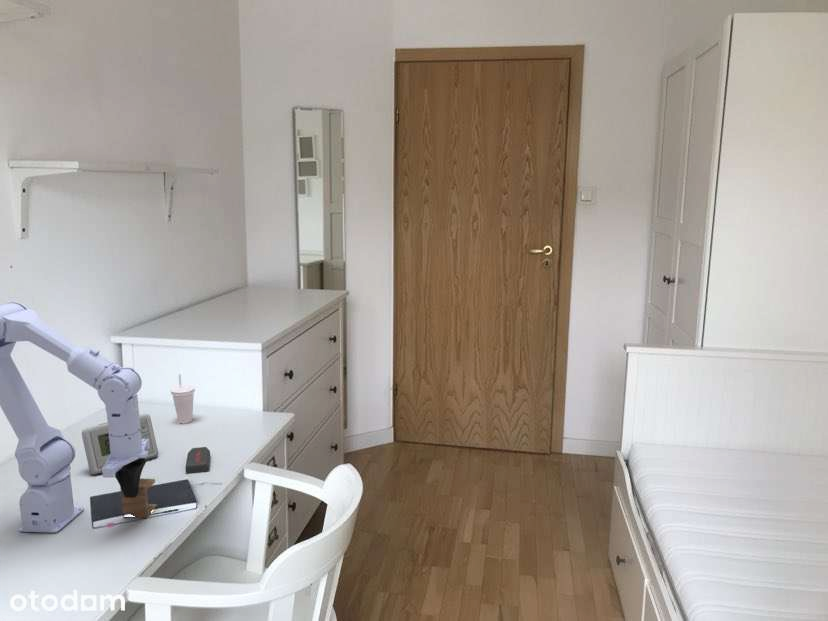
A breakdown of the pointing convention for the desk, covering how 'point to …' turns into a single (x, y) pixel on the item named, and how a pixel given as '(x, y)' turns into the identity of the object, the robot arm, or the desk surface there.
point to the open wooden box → (139, 501)
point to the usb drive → (198, 460)
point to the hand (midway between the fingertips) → (130, 496)
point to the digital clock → (100, 445)
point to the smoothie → (183, 402)
